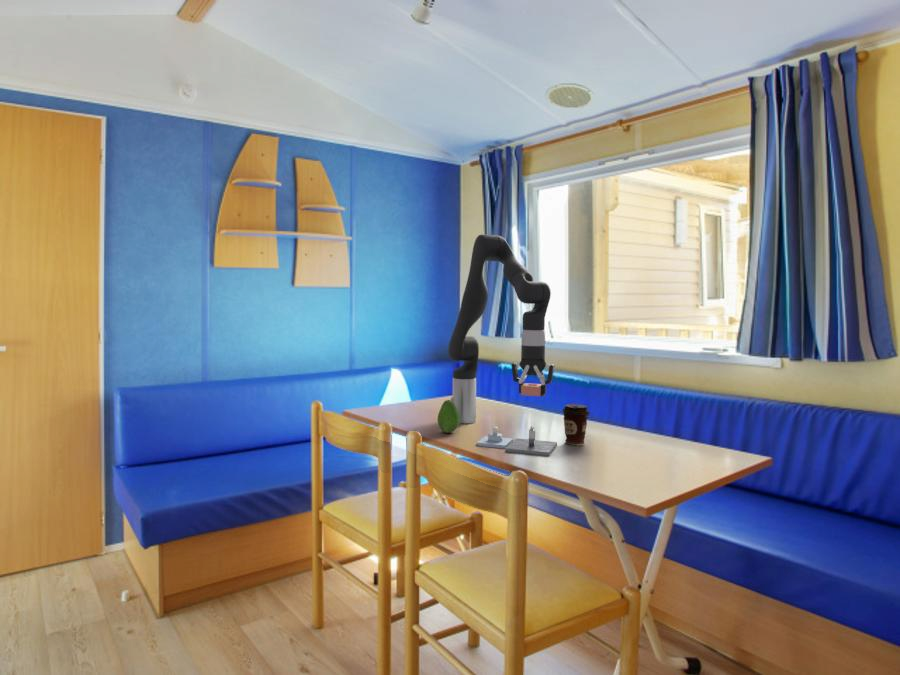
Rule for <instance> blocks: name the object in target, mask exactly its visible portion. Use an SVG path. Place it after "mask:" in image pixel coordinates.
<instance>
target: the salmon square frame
mask: <svg viewBox="0 0 900 675" xmlns="http://www.w3.org/2000/svg"><path fill="white" fill-rule="evenodd" d="M541 385H542V384H541V383H530V382H529V383H528V382H527V383H526V382H525V383H524V384H523V385H522V386H521V393H520V396H531V397H541Z"/></svg>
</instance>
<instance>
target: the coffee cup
mask: <svg viewBox="0 0 900 675" xmlns="http://www.w3.org/2000/svg"><path fill="white" fill-rule="evenodd" d="M562 413H563V426H564V434H565V437H566V439H565V444H567V445H571V446H578V447H579V446H585V439H586V433H587V432H586V431H587V427H588V426H587V425H588V422H587V421H588V417H589V414H590V411H589V409H588V407H587V406H586V405H583V404H572V403H570V404H569V403H568V404H565V406H564V408H563V409H562Z"/></svg>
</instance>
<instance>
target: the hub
mask: <svg viewBox="0 0 900 675" xmlns="http://www.w3.org/2000/svg"><path fill="white" fill-rule="evenodd" d="M557 447H558V441H550V440H549V441H548V440H539V439H538V440H537V439H536V429H535V427H534V426H530V428H529V429H528V439H527V438H517V437H516V438H514V439H513V442H512V443H510V444H509V445H508V446H507V447H506V448H504V449H505V453H514V454H521V455H522V454H523V455H534V456H542V457H543V456H544V457H550V455H552V453H553V452H554V451H555V449H556V448H557Z"/></svg>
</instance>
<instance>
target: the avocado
mask: <svg viewBox="0 0 900 675" xmlns="http://www.w3.org/2000/svg"><path fill="white" fill-rule="evenodd" d="M459 422H460V416H459V413H458V410H457V408H456V406H455V404H454V403H453V402H452V401H451V399H446V400H444V402H443V403H442V404H441V407H440V410H439V412H438V416H437V424H438V427H439V428H440V430H441V431H442V432H443V433H446V434H448V433H449V434H450V433H453V432H454V431H456V430H457V429H458V427H459V425H460V423H459Z"/></svg>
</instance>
